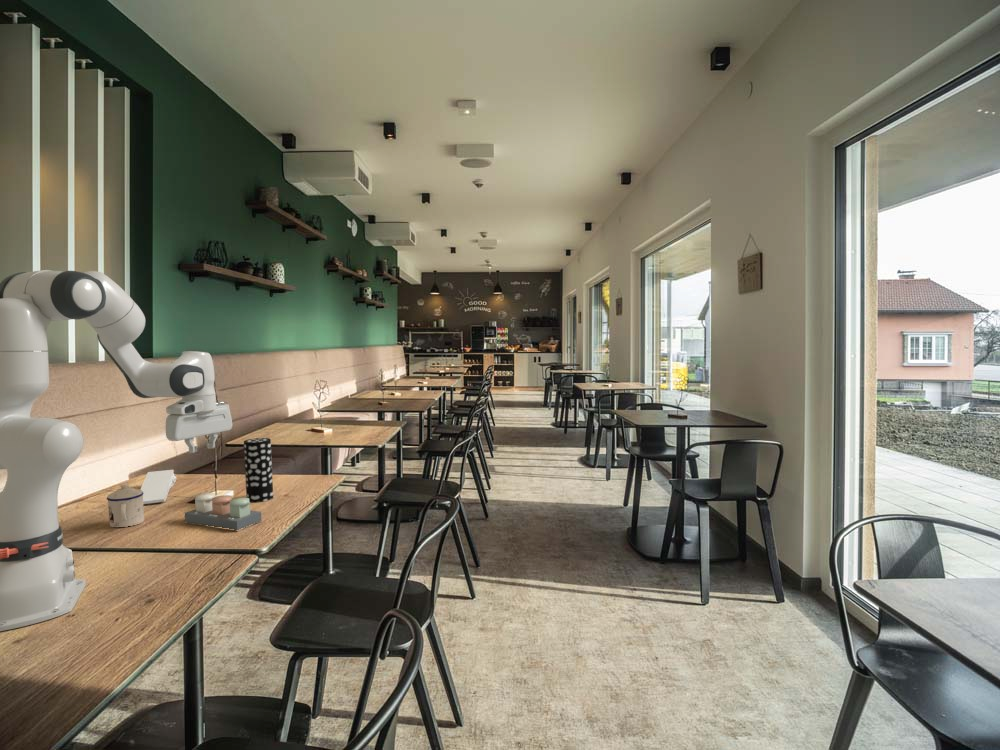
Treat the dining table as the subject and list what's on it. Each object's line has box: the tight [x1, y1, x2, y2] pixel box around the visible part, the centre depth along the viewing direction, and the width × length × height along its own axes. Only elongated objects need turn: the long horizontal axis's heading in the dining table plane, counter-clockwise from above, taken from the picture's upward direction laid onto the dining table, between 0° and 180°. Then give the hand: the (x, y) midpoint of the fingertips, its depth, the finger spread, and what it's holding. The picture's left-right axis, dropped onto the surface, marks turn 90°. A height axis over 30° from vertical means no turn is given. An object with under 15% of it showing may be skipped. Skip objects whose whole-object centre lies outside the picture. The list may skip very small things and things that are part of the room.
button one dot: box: [194, 492, 216, 513], centre depth 171 cm, size 5×5×5 cm
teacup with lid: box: [106, 483, 145, 528], centre depth 167 cm, size 12×9×12 cm
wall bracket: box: [140, 469, 177, 505], centre depth 199 cm, size 10×7×28 cm
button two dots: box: [230, 497, 251, 518], centre depth 166 cm, size 5×5×5 cm
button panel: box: [184, 508, 262, 530], centre depth 169 cm, size 21×9×3 cm, turn 67°
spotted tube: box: [243, 437, 274, 503], centre depth 191 cm, size 8×8×20 cm
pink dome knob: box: [212, 494, 233, 515], centre depth 168 cm, size 5×5×5 cm
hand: (202, 450), depth 170 cm, fingers open, 5 cm apart
